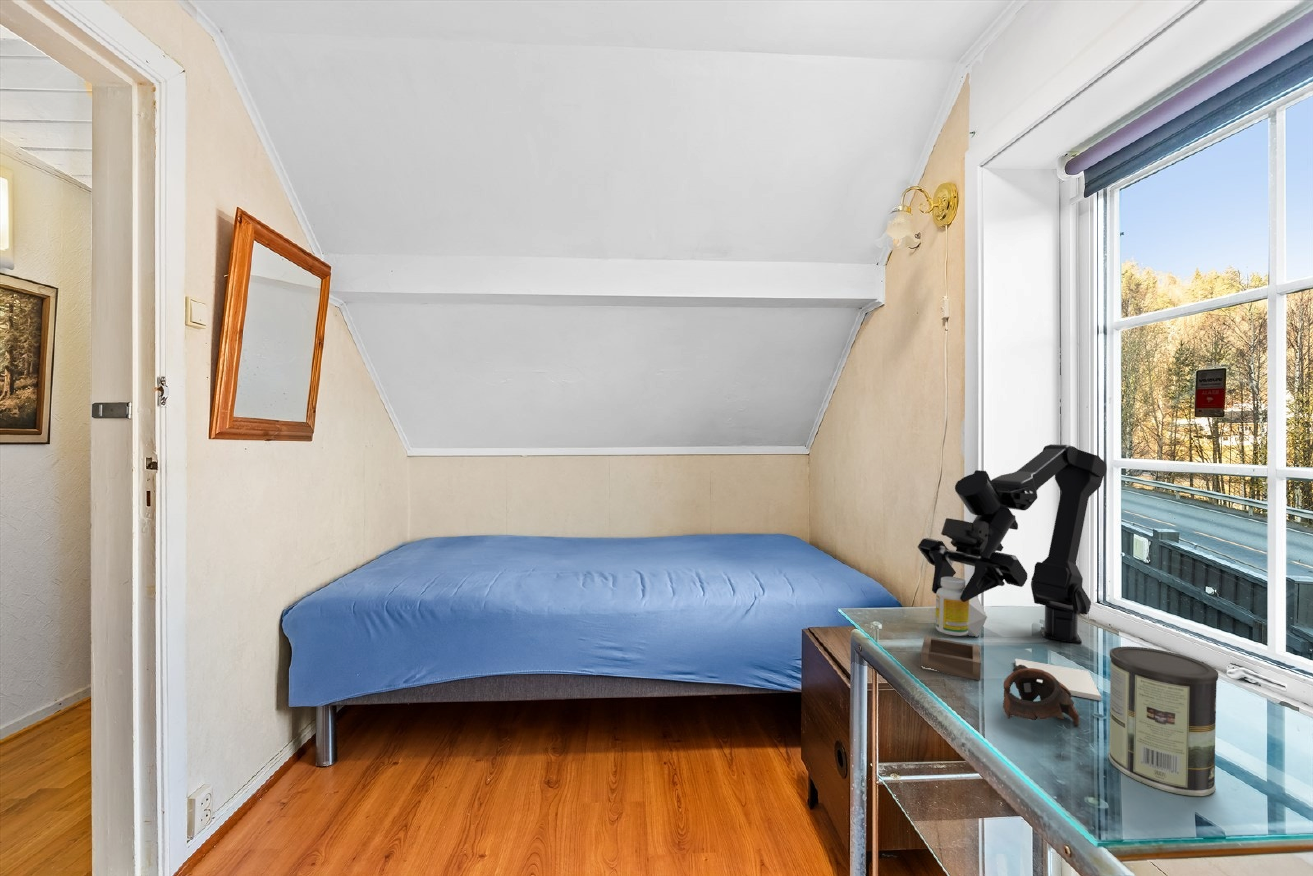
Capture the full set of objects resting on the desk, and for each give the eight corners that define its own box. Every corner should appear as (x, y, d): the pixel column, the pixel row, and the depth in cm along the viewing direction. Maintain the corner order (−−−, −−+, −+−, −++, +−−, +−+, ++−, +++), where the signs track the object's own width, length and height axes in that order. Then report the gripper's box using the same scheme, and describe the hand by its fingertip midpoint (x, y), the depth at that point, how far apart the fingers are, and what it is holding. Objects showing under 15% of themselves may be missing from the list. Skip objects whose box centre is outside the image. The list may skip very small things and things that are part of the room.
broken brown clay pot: (1100, 740, 81) (1083, 695, 79) (1033, 762, 82) (1015, 718, 81) (1049, 682, 92) (1032, 642, 91) (991, 702, 94) (974, 663, 92)
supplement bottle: (928, 628, 107) (929, 576, 107) (950, 624, 109) (951, 574, 108) (952, 638, 102) (953, 584, 101) (975, 634, 103) (976, 581, 103)
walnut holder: (924, 651, 111) (924, 636, 111) (979, 661, 107) (979, 645, 107) (920, 668, 103) (921, 652, 103) (980, 680, 99) (980, 663, 99)
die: (987, 633, 124) (961, 592, 129) (1003, 626, 117) (975, 582, 121) (953, 647, 124) (928, 605, 128) (967, 640, 116) (940, 595, 121)
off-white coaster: (1015, 662, 107) (1015, 658, 107) (1088, 675, 101) (1088, 671, 101) (1019, 685, 97) (1019, 680, 97) (1100, 700, 92) (1101, 695, 92)
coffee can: (1182, 756, 76) (1185, 650, 76) (1237, 804, 66) (1240, 683, 66) (1092, 743, 79) (1094, 641, 79) (1131, 788, 69) (1134, 671, 69)
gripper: (924, 497, 115) (884, 557, 110) (1018, 509, 98) (976, 581, 93) (950, 533, 118) (912, 593, 114) (1045, 551, 102) (1005, 622, 97)
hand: (947, 596), depth 104 cm, fingers closed on supplement bottle, 5 cm apart
